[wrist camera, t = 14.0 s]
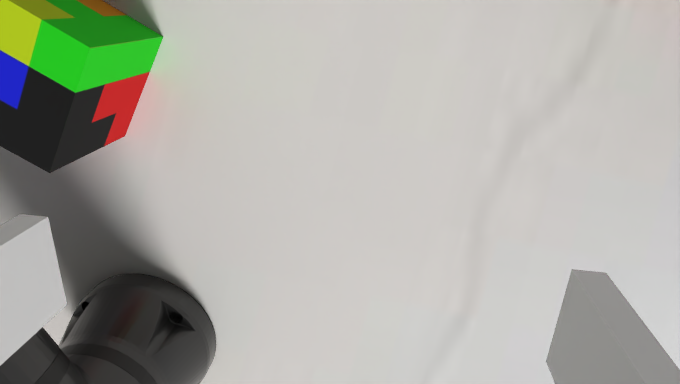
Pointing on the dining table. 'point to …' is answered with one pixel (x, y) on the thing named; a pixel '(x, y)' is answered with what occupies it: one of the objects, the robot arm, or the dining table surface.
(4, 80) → the puzzle toy
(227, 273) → the dining table surface
